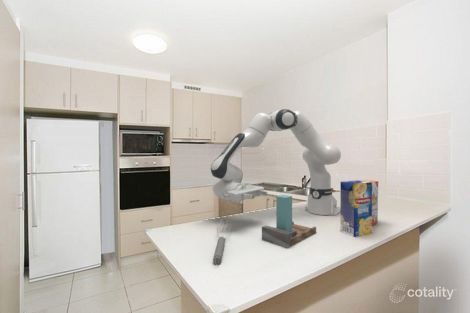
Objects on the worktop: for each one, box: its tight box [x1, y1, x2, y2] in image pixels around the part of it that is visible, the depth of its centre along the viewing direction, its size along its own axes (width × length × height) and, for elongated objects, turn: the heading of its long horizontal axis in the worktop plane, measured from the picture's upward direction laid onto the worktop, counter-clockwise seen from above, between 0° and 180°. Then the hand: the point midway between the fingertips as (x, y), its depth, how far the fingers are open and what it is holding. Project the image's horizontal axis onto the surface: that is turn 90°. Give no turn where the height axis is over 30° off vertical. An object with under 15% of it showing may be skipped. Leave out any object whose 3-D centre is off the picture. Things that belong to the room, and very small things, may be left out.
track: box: [261, 220, 317, 249], centre depth 93 cm, size 22×12×5 cm, turn 134°
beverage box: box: [340, 179, 373, 238], centre depth 97 cm, size 7×11×22 cm, turn 114°
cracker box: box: [364, 179, 379, 226], centre depth 108 cm, size 14×6×21 cm, turn 129°
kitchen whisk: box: [212, 219, 232, 267], centre depth 84 cm, size 6×34×6 cm, turn 178°
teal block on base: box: [275, 194, 297, 237], centre depth 90 cm, size 7×7×16 cm
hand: (259, 195), depth 100 cm, fingers open, 8 cm apart
